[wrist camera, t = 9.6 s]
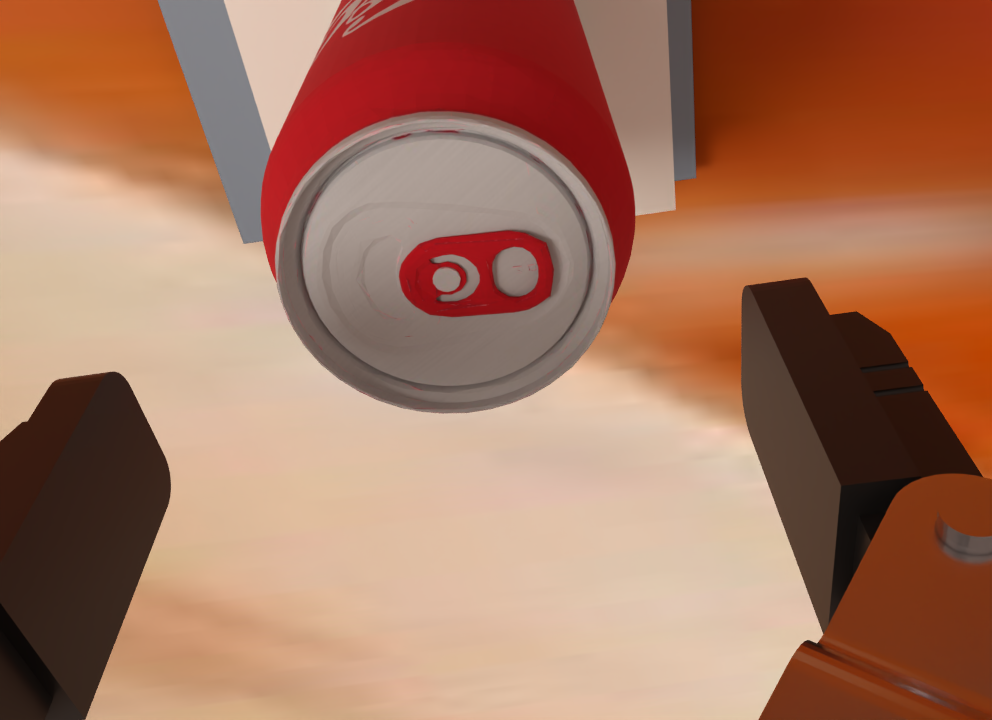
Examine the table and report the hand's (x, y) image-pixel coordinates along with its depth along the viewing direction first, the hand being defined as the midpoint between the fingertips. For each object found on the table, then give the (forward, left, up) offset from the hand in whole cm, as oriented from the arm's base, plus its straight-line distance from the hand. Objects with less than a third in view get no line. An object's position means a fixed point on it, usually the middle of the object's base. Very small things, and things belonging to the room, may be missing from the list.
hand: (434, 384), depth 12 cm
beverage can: (0, 0, -15) cm, 15 cm away
